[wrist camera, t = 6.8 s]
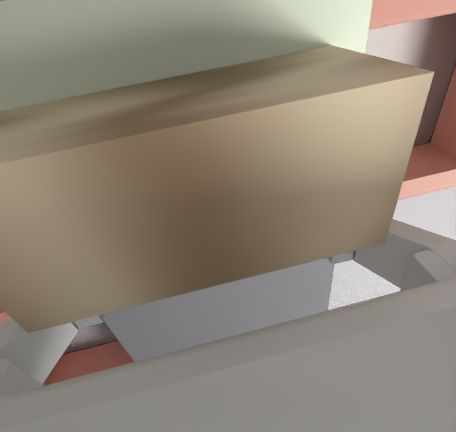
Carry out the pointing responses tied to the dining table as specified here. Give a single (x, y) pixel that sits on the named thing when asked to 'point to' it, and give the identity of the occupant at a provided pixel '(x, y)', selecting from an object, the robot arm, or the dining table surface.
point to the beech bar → (200, 180)
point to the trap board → (185, 64)
